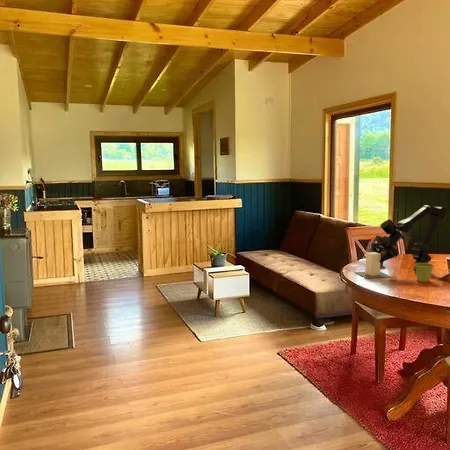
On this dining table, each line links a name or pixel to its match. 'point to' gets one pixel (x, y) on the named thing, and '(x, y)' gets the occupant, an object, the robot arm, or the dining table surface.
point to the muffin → (380, 257)
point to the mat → (366, 276)
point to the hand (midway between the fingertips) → (374, 260)
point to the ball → (393, 277)
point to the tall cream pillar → (372, 263)
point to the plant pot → (423, 271)
